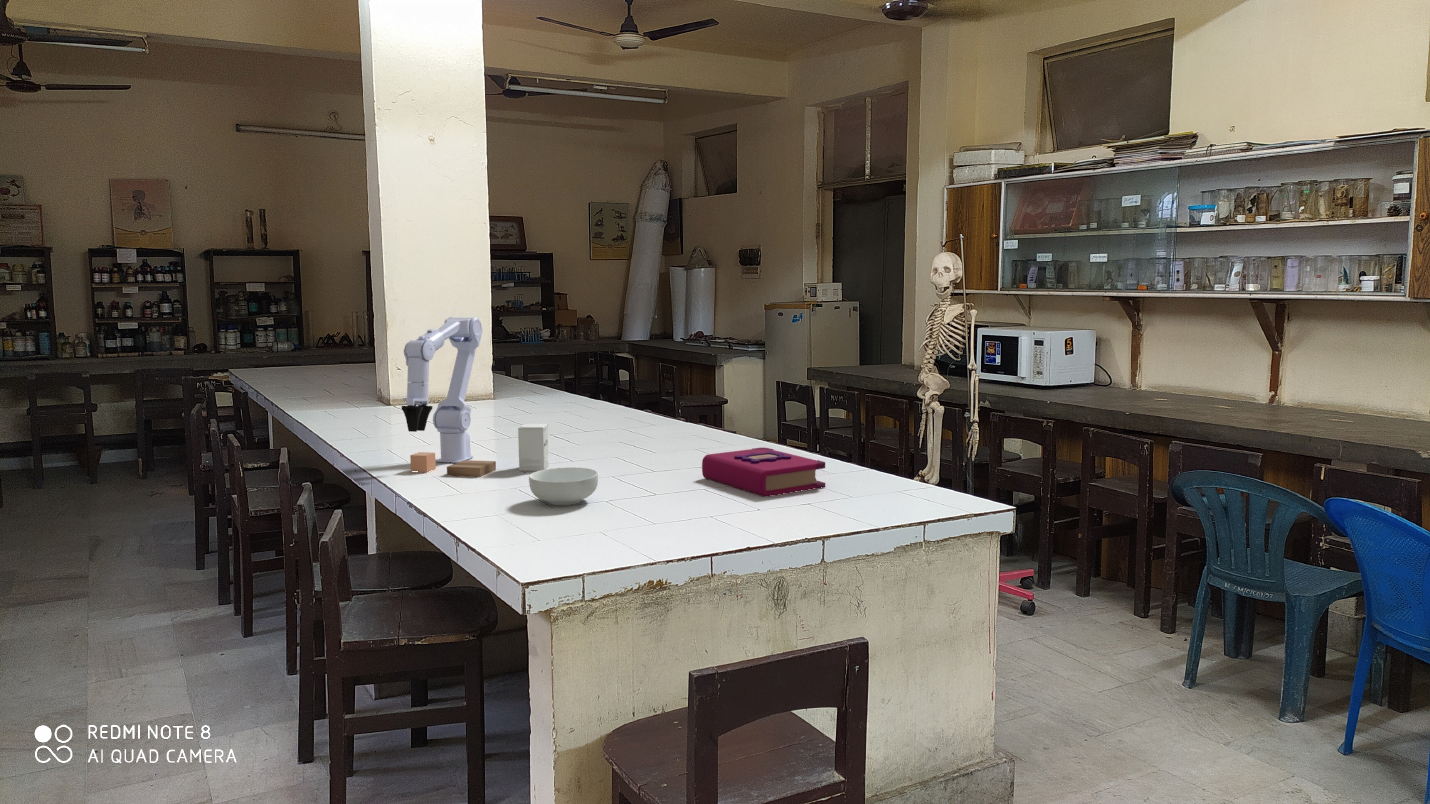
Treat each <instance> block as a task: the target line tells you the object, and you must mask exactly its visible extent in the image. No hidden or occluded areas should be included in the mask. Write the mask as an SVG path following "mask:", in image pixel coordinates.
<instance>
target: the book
mask: <svg viewBox="0 0 1430 804" xmlns="http://www.w3.org/2000/svg"><path fill="white" fill-rule="evenodd" d="M701 461H702V462H701V472H702V476H703V478H704V479H706V478H707V480H709V479H710V481H712V480H713V482H715V483H719V482H720V483H719V484H722V483H723V485H725V484H726V486H728V485H729V486H730V487H732V488H735V489H738V488H739V490H741V489H742V490H741V491H744V490H745V492H749V493H752V494H754V493H755V494H754V495H757V494H758V496H760V495H761V497H764V496H768V497H771V496H770V495H775V496H779V495H778V494H781V495H784V494H783V493H788V494H791V493H790V492H794V493H796V492H795V491H800V492H802V491H801V490H807V491H809V490H808V489H813V488H820V489H822V488H821V487H825V488H826V482H823V481H820V480H817V478H816V472H817V470H822V469H826V462H825V461H823V460H819V459H817V460H816V459H813V458H808V457H804V456H800V455H798V454H797V455H796V454H792V453H788V452H783V451H780V450H776V449H773V448H769V447H754V448H749V449H742V450H733V451H726V452H725V451H724V452H718V453H711V454H706V455H704V457H703V458H702V460H701ZM813 490H814V489H813Z"/></svg>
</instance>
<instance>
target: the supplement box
mask: <svg viewBox="0 0 1430 804" xmlns="http://www.w3.org/2000/svg"><path fill="white" fill-rule="evenodd" d="M517 428H518V429H517V433H518V436H517V438H518V470H519V471H520V472H537V471H540V470H546V469H548V467H549V429H548V428H549V427H548V423H524V424H522V425H520V426H519V427H517Z"/></svg>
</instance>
